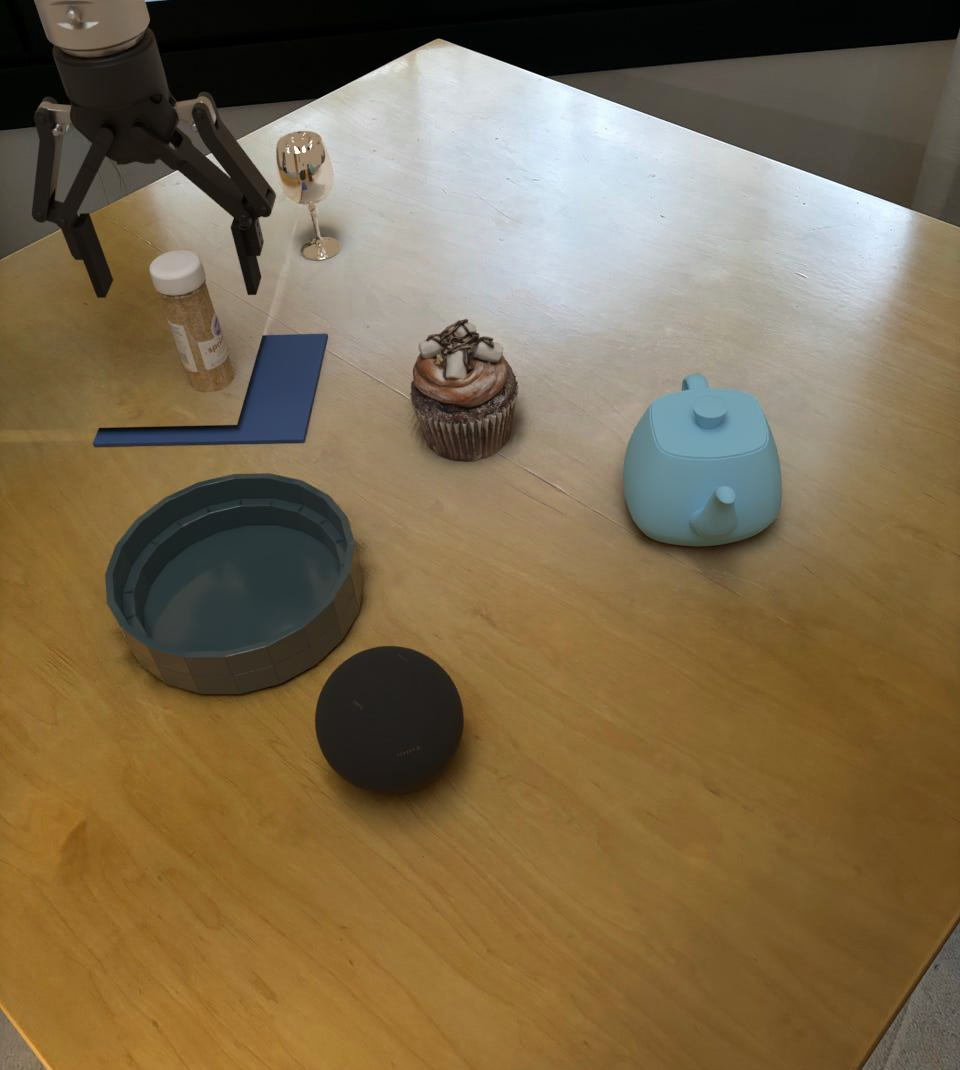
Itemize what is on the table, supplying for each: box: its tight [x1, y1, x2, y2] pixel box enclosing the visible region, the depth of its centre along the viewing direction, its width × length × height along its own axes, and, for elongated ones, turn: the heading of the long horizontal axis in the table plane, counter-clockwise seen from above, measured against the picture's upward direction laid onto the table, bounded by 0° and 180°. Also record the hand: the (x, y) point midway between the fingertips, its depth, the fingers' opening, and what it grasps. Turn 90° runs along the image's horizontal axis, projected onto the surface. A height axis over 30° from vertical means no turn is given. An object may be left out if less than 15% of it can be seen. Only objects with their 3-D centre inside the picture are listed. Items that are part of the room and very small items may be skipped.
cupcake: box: [409, 318, 520, 462], centre depth 94 cm, size 10×10×10 cm
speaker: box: [314, 645, 465, 795], centre depth 73 cm, size 10×10×10 cm
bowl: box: [104, 472, 365, 695], centre depth 85 cm, size 19×19×5 cm
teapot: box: [622, 373, 783, 547], centre depth 85 cm, size 13×11×18 cm
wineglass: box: [275, 130, 342, 261], centre depth 114 cm, size 6×6×12 cm
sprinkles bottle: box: [148, 249, 235, 394], centre depth 99 cm, size 5×5×14 cm
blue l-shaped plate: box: [92, 332, 329, 448], centre depth 104 cm, size 20×16×1 cm
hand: (179, 287), depth 96 cm, fingers open, 13 cm apart
